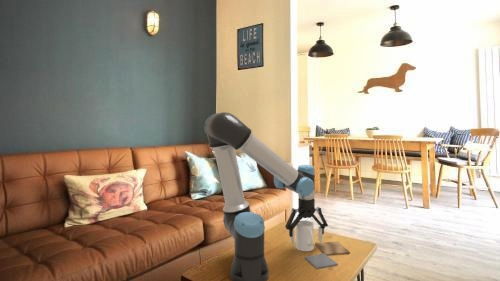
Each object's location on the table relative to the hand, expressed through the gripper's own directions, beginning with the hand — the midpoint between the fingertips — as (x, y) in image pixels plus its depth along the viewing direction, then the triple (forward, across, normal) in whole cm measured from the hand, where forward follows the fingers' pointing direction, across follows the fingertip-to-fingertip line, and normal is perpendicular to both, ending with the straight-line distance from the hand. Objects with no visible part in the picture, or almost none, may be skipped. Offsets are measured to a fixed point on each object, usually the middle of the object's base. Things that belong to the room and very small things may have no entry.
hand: (306, 242), depth 135 cm
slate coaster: (+3, +2, -13) cm, 14 cm away
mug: (+4, 0, 0) cm, 4 cm away
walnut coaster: (+3, +12, -2) cm, 12 cm away
